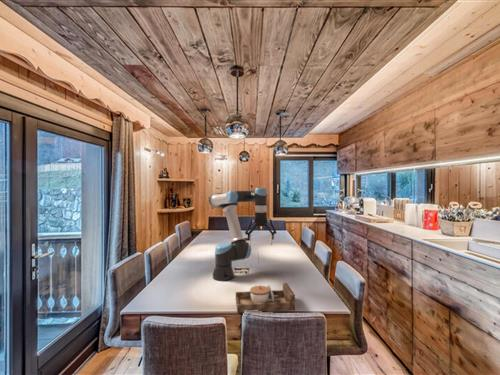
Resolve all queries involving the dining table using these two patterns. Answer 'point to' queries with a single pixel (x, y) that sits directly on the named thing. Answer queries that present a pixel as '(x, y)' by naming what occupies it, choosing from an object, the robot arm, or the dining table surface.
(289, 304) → the wooden tray
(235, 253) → the robot arm
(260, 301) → the lidded jar
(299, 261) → the dining table surface
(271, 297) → the pusher
